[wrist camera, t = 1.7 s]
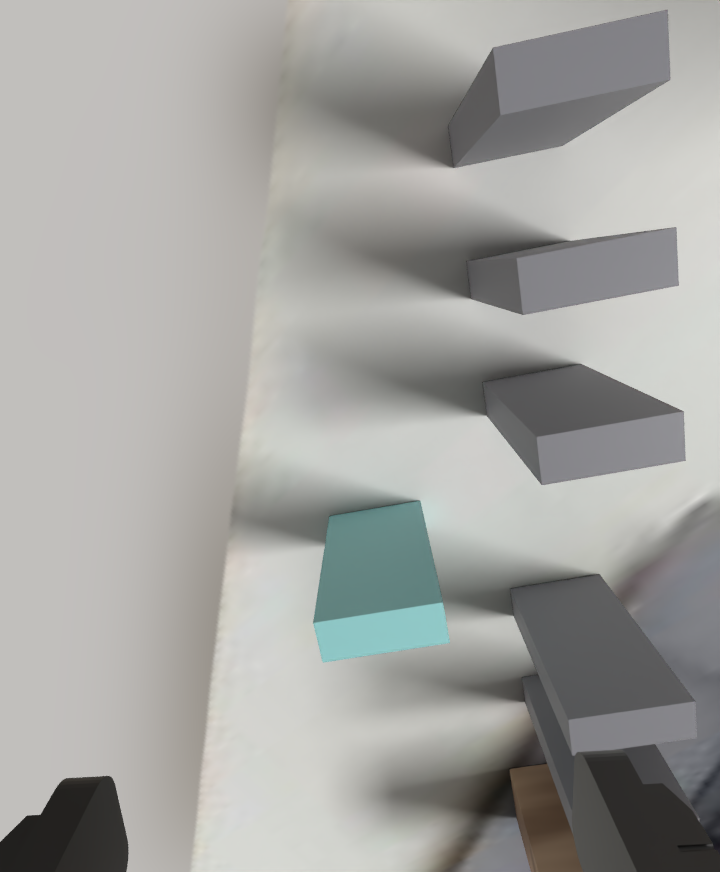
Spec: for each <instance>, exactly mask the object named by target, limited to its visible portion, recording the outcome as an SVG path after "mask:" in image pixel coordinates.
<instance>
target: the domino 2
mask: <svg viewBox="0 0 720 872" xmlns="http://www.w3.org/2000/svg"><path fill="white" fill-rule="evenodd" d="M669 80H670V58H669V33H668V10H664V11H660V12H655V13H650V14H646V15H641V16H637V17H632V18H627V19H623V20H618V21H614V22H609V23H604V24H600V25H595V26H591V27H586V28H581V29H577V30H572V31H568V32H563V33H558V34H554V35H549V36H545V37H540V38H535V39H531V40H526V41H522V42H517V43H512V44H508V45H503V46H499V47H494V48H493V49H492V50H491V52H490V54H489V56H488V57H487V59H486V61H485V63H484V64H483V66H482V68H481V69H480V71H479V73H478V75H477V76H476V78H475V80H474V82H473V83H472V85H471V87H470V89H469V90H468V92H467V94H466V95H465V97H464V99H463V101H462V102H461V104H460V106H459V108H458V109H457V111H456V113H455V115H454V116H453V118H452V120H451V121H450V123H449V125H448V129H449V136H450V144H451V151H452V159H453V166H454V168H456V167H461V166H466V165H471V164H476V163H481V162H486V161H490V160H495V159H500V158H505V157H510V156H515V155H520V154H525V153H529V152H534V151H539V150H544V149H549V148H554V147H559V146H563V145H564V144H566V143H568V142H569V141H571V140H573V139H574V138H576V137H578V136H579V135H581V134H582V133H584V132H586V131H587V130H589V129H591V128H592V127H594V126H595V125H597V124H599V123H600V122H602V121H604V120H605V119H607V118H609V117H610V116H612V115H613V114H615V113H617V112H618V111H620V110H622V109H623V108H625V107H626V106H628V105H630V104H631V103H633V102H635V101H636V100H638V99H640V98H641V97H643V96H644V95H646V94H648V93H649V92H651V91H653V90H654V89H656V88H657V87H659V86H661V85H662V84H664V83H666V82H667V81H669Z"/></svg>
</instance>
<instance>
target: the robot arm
mask: <svg viewBox="0 0 720 872" xmlns="http://www.w3.org/2000/svg"><path fill="white" fill-rule="evenodd" d="M572 828H573V836H574V842H575V846H576V851H577V855H578V858H579V862H580V865H581V867H582V870H583V872H720V855H719V853H718V851H717V850H714V848H713V843H712V842H711V840H710V838H709V837H708V835H707V833H706V832H705V830H704V828H703V827H702V825H701V824H700V822H699V820H698V819H697V817H696V815H695V814H694V812H693V811H692V810H691V809H690V808H689V807H688V806H687V805H686V804H685V803H684V802H683V801H682V800H680V799H679V798H678V797H677V796H676V795H675V794H674V793H673V792H672V791H671V790H670V789H668V788H667V787H666V786H665V785H664V784H663V783H657V784H643V783H642V781H641V779H640V778H639V776H638V774H637V772H636V770H635V768H634V767H633V765H632V763H631V761H630V759H629V758H628V756H627V755H626V753H625V752H624V751H623V750H603V751H585V752H577V753H576V755H575V760H574V783H573V807H572ZM127 863H128V841H127V836H126V831H125V827H124V823H123V818H122V814H121V809H120V805H119V800H118V796H117V791H116V787H115V783H114V781H113V779H112V778H111V777H110V776H102V777H83V778H66V779H64V780H63V781H62V782H61V783H60V784H59V785H58V786H57V788H56V789H55V791H54V793H53V794H52V796H51V798H50V800H49V801H48V803H47V805H46V807H45V808H44V810H43V812H42V813H41V815H32V816H26V817H25V818H24V819H23V820H22V821H21V822H20V823H19V824H18V825H17V826H16V827H15V828H14V829H13V830H12V831H11V832H10V833H9V834H8V835H7V836H6V837H5V838H4V839H3V840H2V841H1V842H0V872H126V870H127Z"/></svg>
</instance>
